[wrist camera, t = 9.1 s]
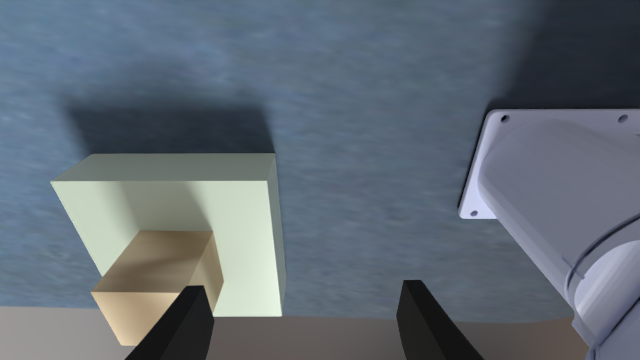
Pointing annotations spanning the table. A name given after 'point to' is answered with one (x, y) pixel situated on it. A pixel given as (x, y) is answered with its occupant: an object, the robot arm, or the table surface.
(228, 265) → the green box
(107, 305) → the birch block
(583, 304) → the robot arm
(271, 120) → the table surface
